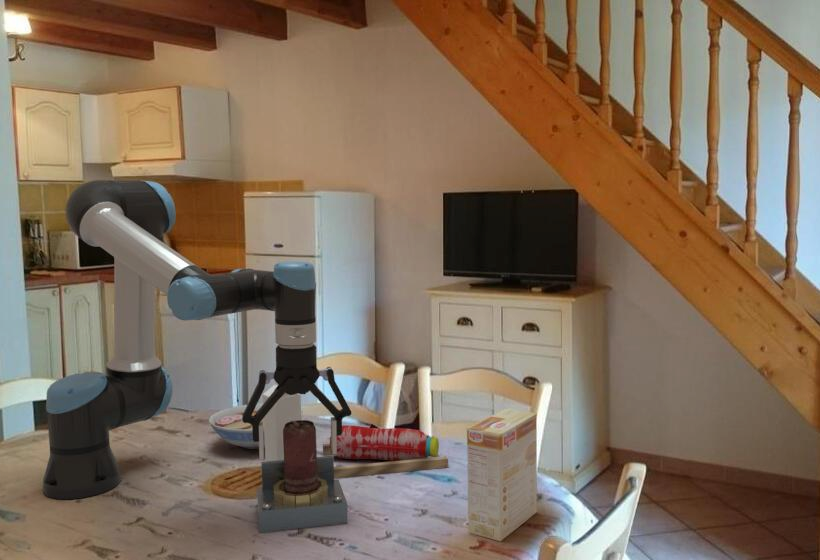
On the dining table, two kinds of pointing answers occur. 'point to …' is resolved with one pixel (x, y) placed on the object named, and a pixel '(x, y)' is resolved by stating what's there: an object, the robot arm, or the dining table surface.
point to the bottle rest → (386, 466)
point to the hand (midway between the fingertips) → (298, 455)
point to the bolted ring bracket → (299, 499)
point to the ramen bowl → (236, 426)
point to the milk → (279, 422)
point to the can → (300, 457)
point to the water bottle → (384, 443)
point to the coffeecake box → (502, 473)
